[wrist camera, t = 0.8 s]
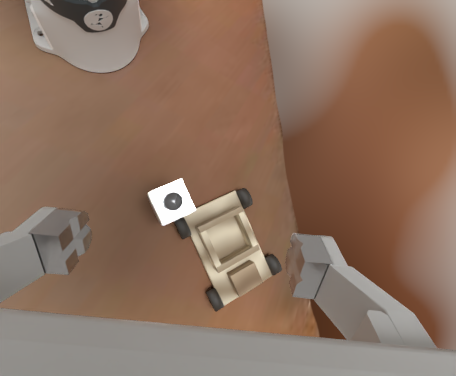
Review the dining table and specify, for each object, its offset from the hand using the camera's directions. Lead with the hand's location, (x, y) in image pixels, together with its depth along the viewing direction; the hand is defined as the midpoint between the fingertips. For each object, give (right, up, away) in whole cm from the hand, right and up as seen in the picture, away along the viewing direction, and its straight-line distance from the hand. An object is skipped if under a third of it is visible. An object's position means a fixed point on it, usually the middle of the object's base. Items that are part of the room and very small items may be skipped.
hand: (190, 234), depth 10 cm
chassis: (+1, -9, +38) cm, 39 cm away
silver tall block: (-10, -1, +35) cm, 36 cm away
